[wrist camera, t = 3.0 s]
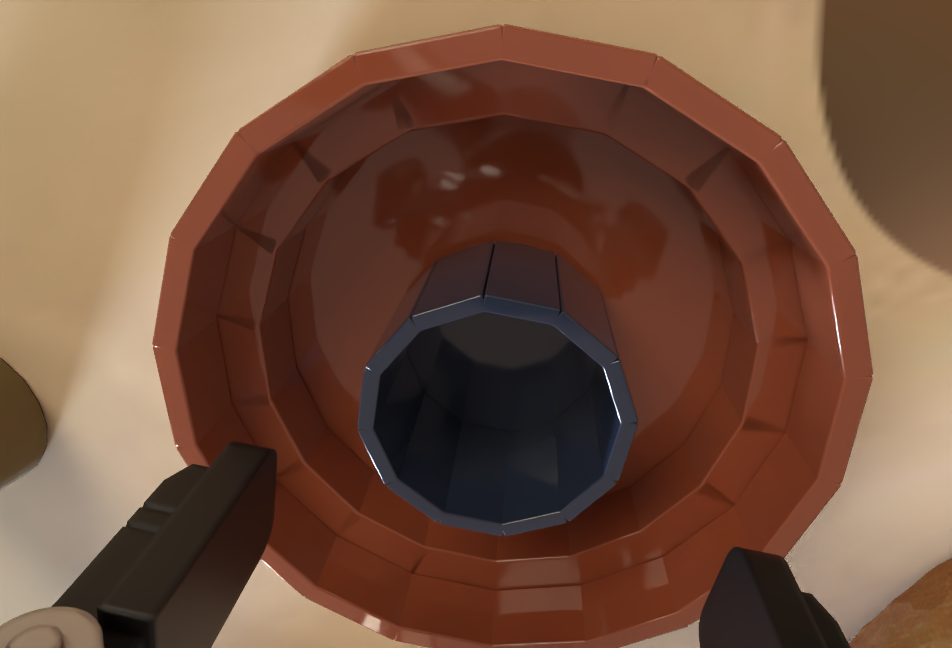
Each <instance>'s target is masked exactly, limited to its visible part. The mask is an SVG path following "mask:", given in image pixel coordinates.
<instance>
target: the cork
mask: <svg viewBox="0 0 952 648" xmlns="http://www.w3.org/2000/svg"><path fill="white" fill-rule="evenodd" d="M46 437H47V426H46V423H45V420H44V416H43V413H42V410H41V407H40V404H39V402H38V401H37V399H36V398H35V396H34V395H33V393H32V392H31V390H30V389H29V387H28V386H27V384H26V383H25V381H24V380H23V379H22V378H21V377H20V376H19V375H18V374H17V373H16V372H15V371H14V370H12V369H11V368H10V367H9V366H8V365H7V364H6V363H5V362H4V361H3V360H2V359H1V358H0V490H1V489H3V488H4V487H6V486H8V485H9V484H11V483H12V482H14V481H16V480H17V479H19V478H20V477H22V476H23V475H25V474H26V473H27V472H29V471H30V470H31V469H33V468H34V467H35V466H37V465H38V463H39V461H40V459H41V457H42V455H43V453H44V451H45V449H46Z"/></svg>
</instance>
